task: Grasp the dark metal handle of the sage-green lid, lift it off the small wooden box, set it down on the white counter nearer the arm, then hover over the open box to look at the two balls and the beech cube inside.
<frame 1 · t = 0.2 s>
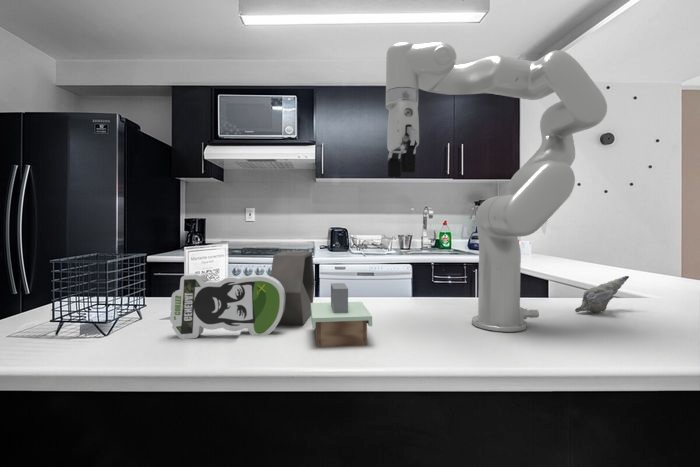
hand: (400, 175, 90), 36 cm above the worktop, tool pointing down, fingers open, 9 cm apart
seashell: (605, 314, 107), on the worktop
beech cube: (332, 337, 83), point 1 cm above the worktop, touching wooden box
planter: (293, 322, 99), on the worktop
cutout: (229, 337, 86), on the worktop
lid: (339, 312, 83), point 6 cm above the worktop, touching wooden box
wooden box: (339, 340, 83), on the worktop
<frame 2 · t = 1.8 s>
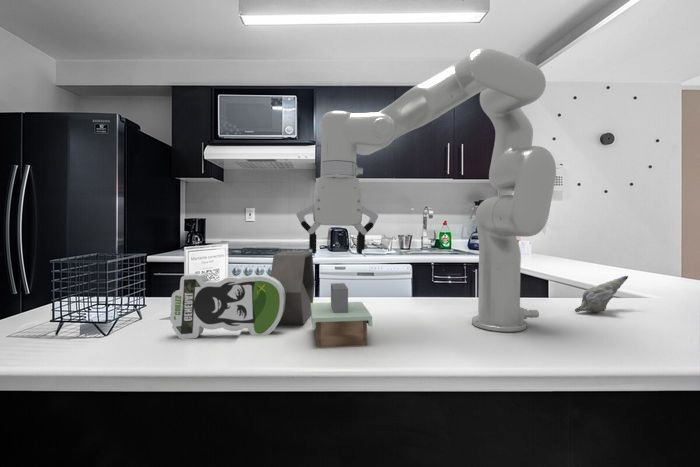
hand: (336, 253, 82), 19 cm above the worktop, tool pointing down, fingers open, 9 cm apart
nothing on the worktop moved.
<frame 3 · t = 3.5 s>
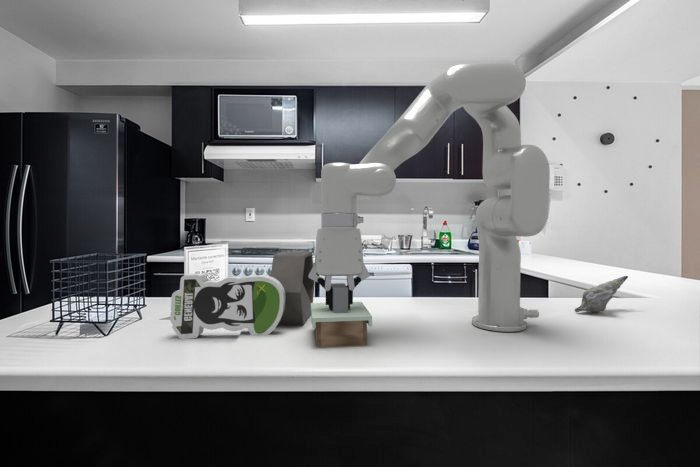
hand: (339, 307, 83), 7 cm above the worktop, tool pointing down, fingers closed on lid, 3 cm apart
lid: (339, 312, 83), point 6 cm above the worktop, touching wooden box, gripper
everything else where it was.
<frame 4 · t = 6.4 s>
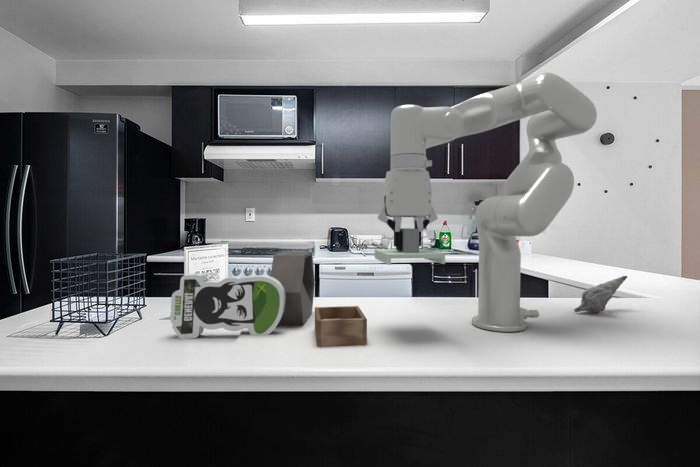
hand: (407, 249, 84), 20 cm above the worktop, tool pointing down, fingers closed on lid, 3 cm apart
lid: (407, 255, 84), point 18 cm above the worktop, touching gripper
everything else where it was.
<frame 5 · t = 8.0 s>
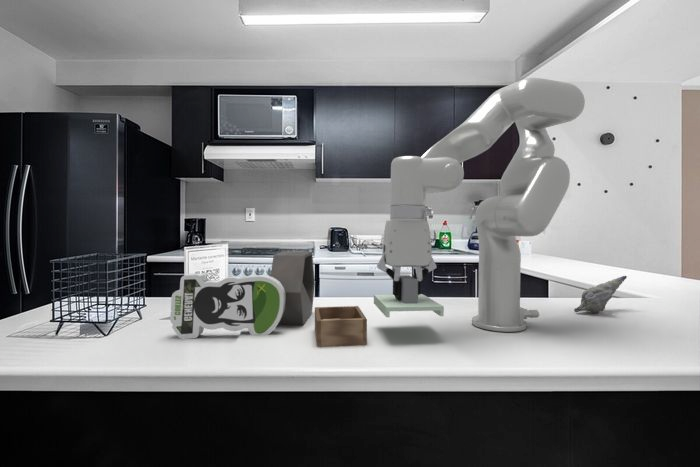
hand: (406, 297, 85), 9 cm above the worktop, tool pointing down, fingers closed on lid, 3 cm apart
lid: (406, 303, 85), point 8 cm above the worktop, touching gripper
everything else where it was.
when the fingers open (4 cm above the worktop, at t = 9.3 s): lid drops 2 cm, point 1 cm above the worktop.
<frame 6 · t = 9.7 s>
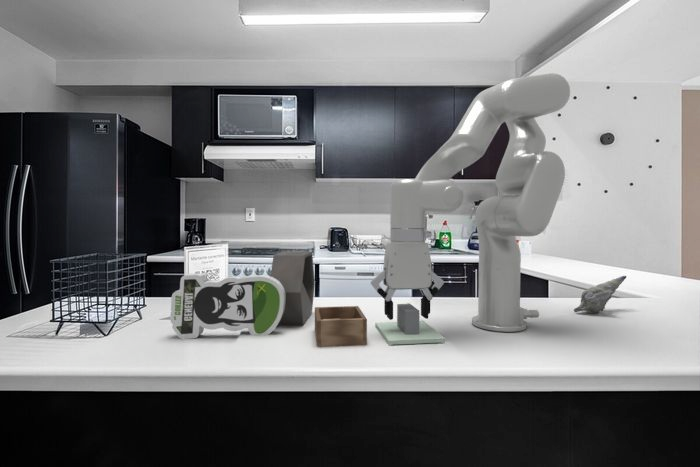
hand: (407, 317, 85), 5 cm above the worktop, tool pointing down, fingers open, 7 cm apart
lid: (407, 333, 85), point 1 cm above the worktop
everything else where it was.
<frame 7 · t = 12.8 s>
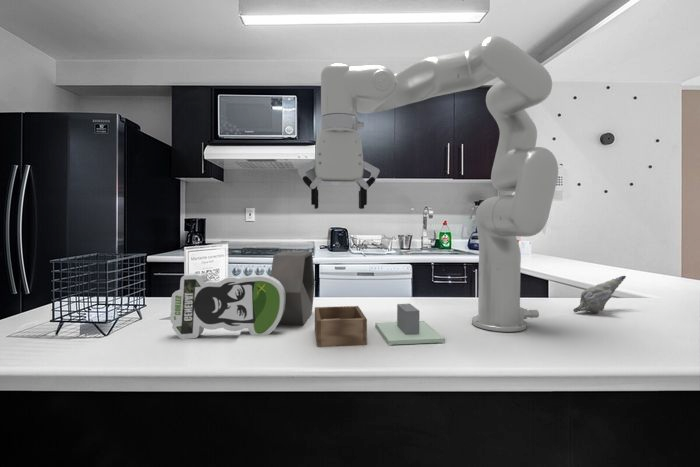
hand: (339, 208, 82), 28 cm above the worktop, tool pointing down, fingers open, 9 cm apart
nothing on the worktop moved.
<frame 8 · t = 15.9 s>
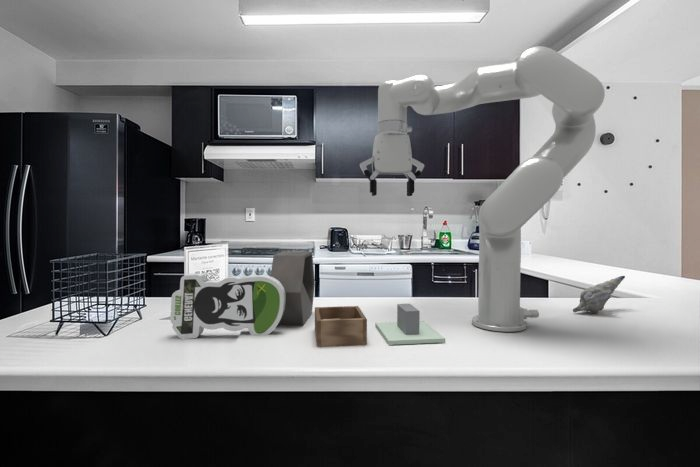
hand: (392, 195, 103), 32 cm above the worktop, tool pointing down, fingers open, 9 cm apart
nothing on the worktop moved.
at the end: lid inside the target area (0.1 cm from its centre), point 0.9 cm above the worktop; lid touching worktop; lid tilted 0° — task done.
